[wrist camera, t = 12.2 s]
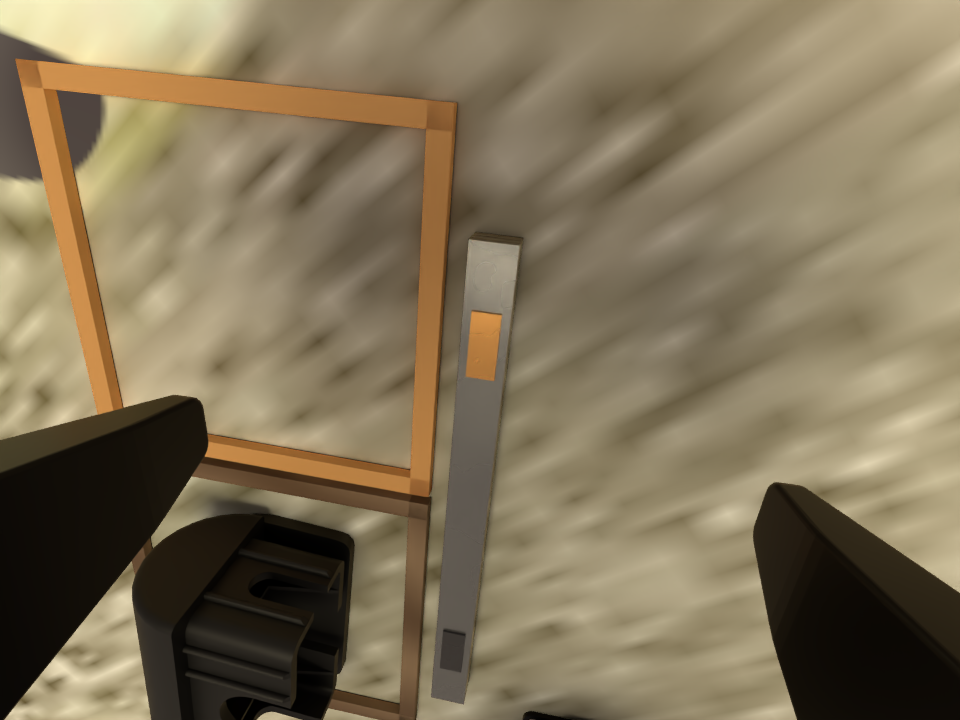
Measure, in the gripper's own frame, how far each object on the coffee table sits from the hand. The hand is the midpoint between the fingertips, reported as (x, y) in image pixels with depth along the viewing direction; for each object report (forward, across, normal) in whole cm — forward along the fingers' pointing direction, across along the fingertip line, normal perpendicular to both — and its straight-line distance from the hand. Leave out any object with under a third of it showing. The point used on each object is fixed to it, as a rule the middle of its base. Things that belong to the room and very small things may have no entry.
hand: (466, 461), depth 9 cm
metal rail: (+11, +1, +10) cm, 15 cm away
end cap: (+11, +10, +17) cm, 23 cm away
